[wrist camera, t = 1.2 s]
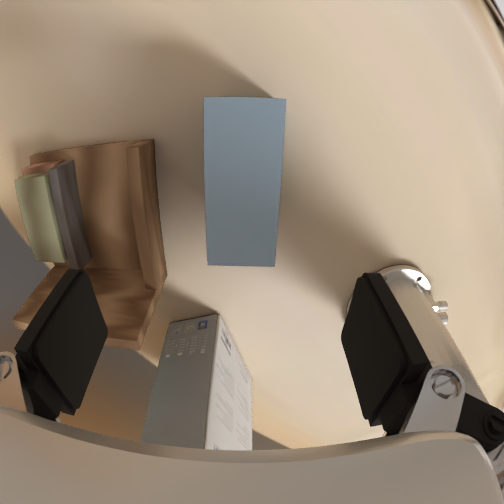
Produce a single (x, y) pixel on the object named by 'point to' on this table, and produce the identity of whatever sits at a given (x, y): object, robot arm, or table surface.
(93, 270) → the shelf
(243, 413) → the hard drive box
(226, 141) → the book
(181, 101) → the table surface
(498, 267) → the table surface
